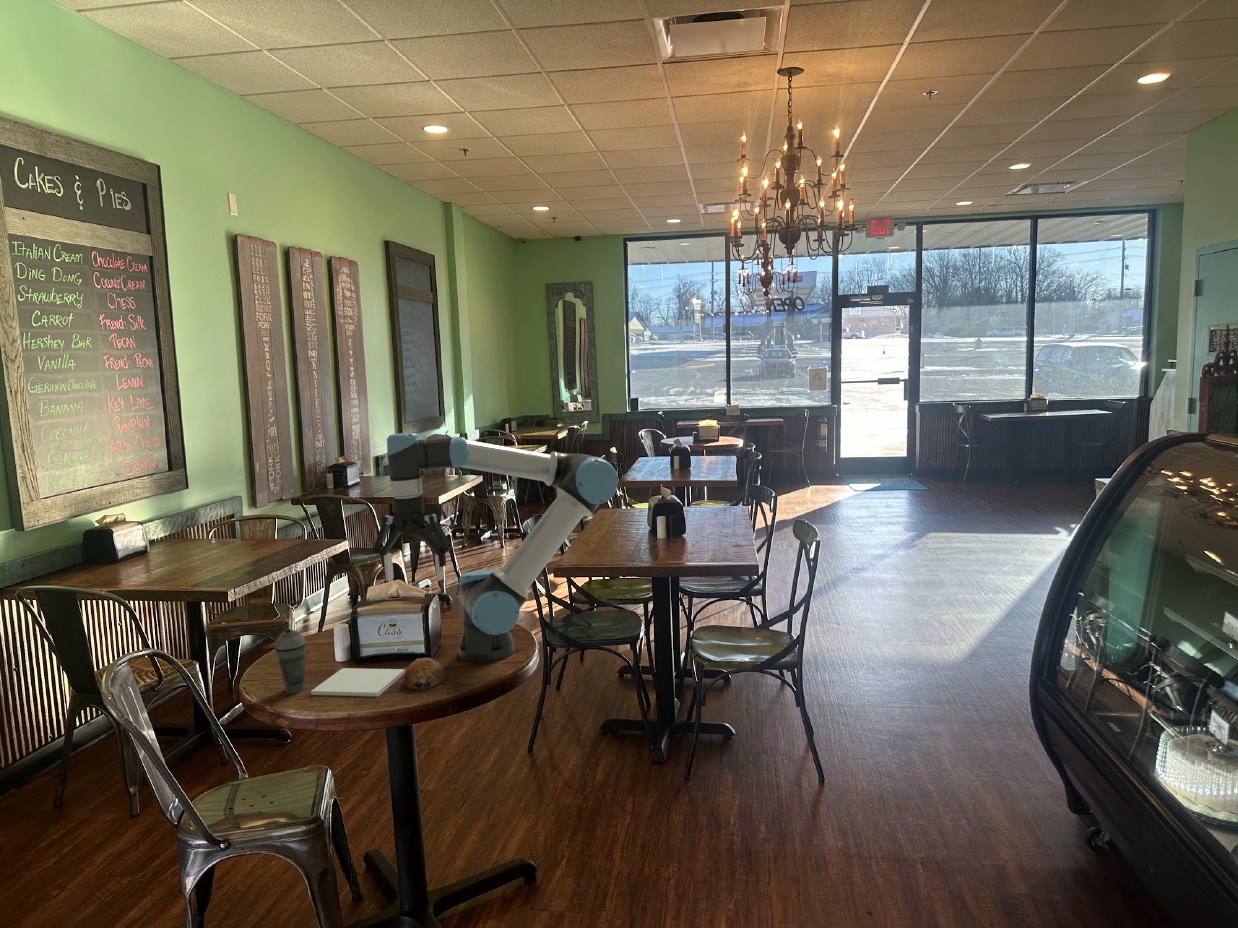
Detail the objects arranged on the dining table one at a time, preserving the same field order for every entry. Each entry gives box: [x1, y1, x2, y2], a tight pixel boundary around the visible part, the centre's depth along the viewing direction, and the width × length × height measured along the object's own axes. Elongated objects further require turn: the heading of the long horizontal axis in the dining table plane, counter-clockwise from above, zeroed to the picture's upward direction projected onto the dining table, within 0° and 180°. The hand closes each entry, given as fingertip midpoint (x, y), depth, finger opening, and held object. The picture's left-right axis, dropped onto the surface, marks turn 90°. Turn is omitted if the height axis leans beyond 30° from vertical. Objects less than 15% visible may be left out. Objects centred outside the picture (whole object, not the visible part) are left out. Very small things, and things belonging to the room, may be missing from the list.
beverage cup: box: [274, 612, 307, 694], centre depth 207 cm, size 7×7×20 cm
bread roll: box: [403, 657, 445, 690], centre depth 208 cm, size 10×10×8 cm
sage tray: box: [310, 667, 406, 697], centre depth 210 cm, size 18×15×1 cm
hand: (415, 579), depth 205 cm, fingers open, 13 cm apart
